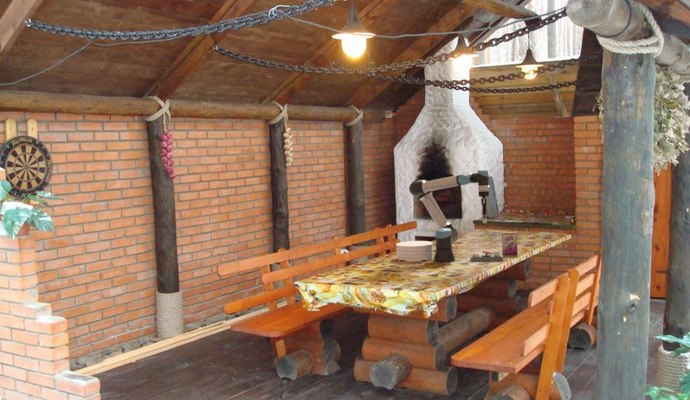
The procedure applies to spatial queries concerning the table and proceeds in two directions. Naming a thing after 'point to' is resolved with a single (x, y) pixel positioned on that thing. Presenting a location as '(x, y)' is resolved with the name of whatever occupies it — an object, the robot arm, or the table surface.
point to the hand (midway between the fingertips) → (484, 222)
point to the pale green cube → (497, 253)
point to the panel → (486, 258)
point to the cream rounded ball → (475, 254)
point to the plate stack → (415, 250)
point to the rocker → (487, 252)
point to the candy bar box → (509, 242)
